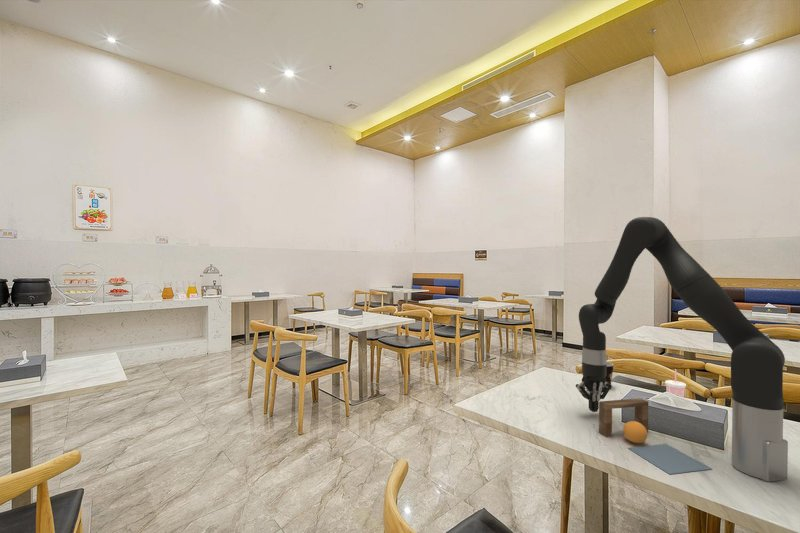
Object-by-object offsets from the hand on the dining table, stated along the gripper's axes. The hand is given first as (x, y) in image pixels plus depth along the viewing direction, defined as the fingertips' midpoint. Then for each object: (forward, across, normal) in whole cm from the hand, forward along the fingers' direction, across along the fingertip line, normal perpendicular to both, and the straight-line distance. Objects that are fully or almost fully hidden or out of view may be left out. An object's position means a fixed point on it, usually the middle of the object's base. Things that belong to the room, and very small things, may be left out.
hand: (593, 411), depth 125 cm
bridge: (+2, 0, -13) cm, 13 cm away
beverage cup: (+2, +35, +1) cm, 35 cm away
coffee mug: (+2, +23, +25) cm, 34 cm away
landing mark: (+2, 0, -28) cm, 28 cm away
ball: (-2, -1, -19) cm, 19 cm away
